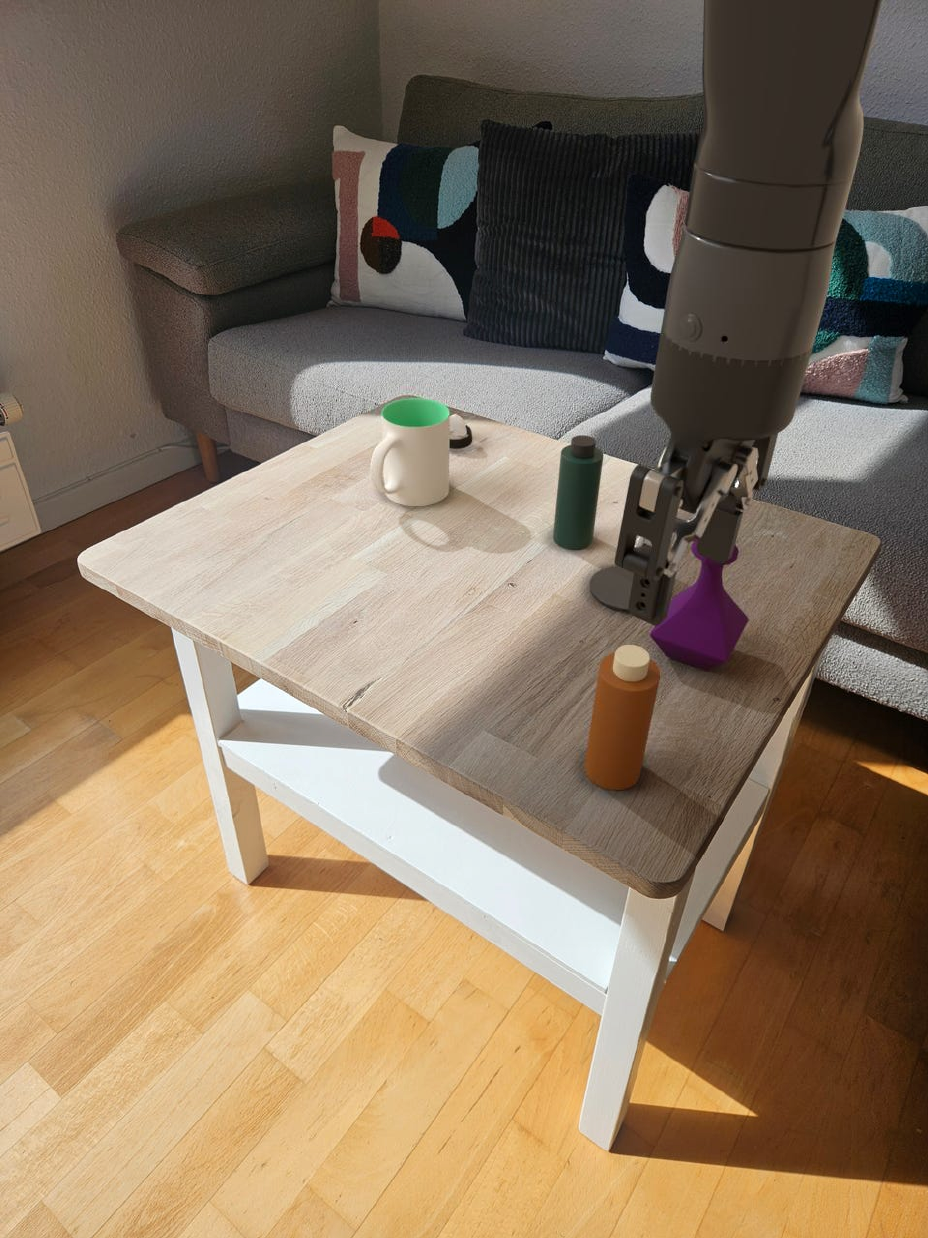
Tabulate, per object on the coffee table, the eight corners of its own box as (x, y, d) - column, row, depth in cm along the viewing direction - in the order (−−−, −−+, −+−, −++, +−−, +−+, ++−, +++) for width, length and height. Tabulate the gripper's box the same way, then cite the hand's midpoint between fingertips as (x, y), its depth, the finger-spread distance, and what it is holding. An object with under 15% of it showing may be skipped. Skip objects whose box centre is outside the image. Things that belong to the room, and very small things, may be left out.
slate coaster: (654, 567, 96) (654, 564, 96) (673, 611, 90) (673, 608, 90) (583, 569, 96) (583, 566, 96) (597, 613, 90) (597, 610, 89)
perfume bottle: (719, 688, 81) (764, 522, 70) (643, 661, 84) (675, 498, 73) (742, 644, 86) (787, 483, 75) (670, 620, 89) (702, 462, 78)
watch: (480, 445, 119) (481, 420, 117) (455, 455, 116) (456, 430, 114) (443, 426, 123) (443, 402, 121) (418, 436, 121) (417, 412, 119)
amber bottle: (632, 748, 75) (655, 635, 67) (645, 789, 71) (670, 674, 63) (579, 750, 74) (596, 637, 67) (590, 791, 71) (608, 677, 63)
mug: (408, 527, 102) (405, 446, 96) (352, 508, 105) (347, 429, 99) (461, 484, 110) (462, 408, 104) (408, 468, 113) (406, 392, 107)
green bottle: (588, 528, 103) (600, 430, 95) (596, 549, 99) (609, 450, 91) (549, 528, 102) (559, 431, 95) (556, 550, 99) (565, 450, 91)
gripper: (745, 389, 38) (679, 670, 48) (862, 308, 46) (785, 560, 56) (598, 345, 41) (566, 614, 51) (732, 278, 50) (682, 519, 60)
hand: (681, 586), depth 54 cm, fingers open, 8 cm apart
